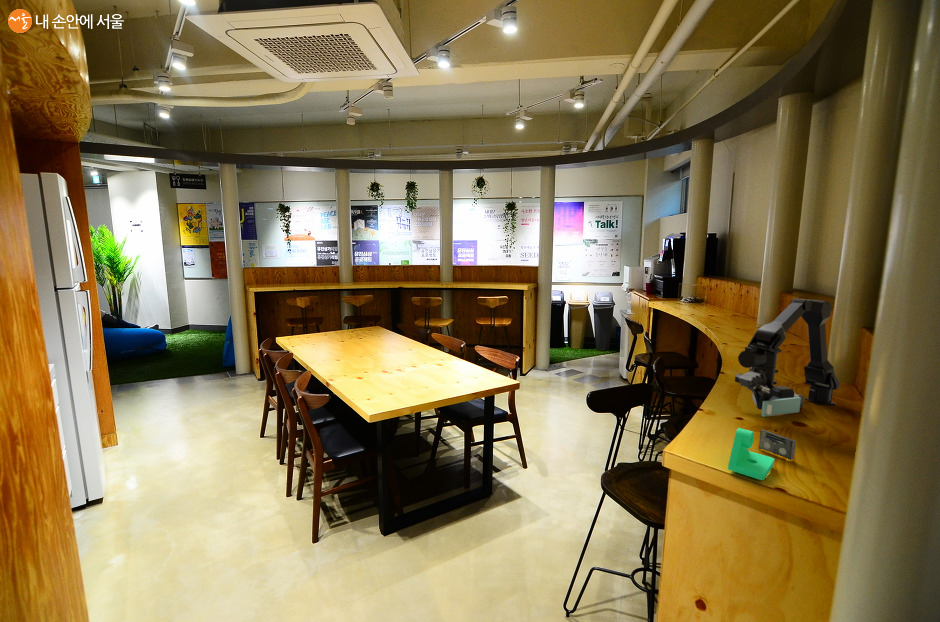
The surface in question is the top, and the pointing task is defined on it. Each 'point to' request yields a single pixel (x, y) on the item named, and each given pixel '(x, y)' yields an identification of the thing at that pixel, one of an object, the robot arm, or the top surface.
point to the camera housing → (783, 398)
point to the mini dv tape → (777, 444)
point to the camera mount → (748, 457)
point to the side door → (781, 406)
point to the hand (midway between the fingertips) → (760, 409)
